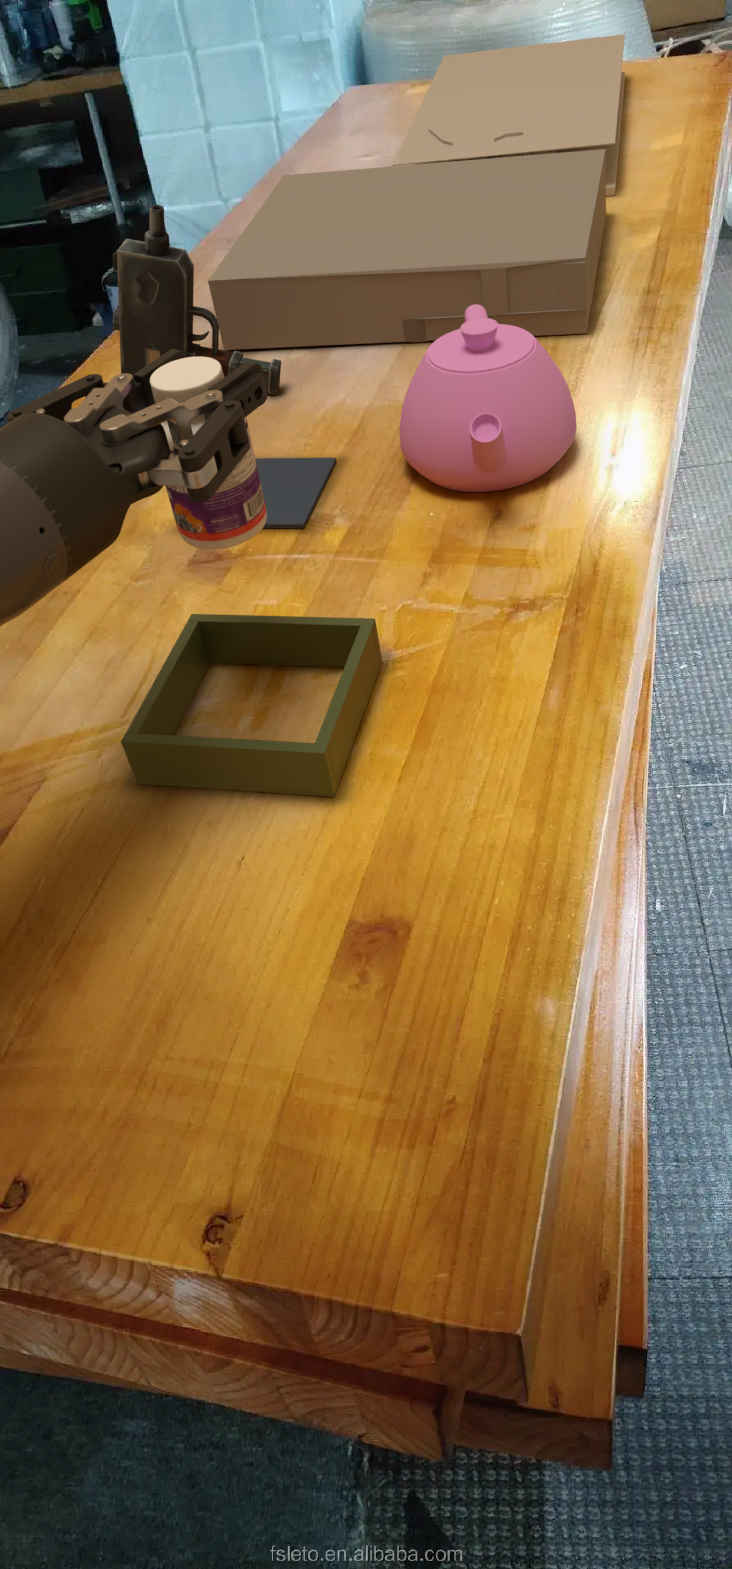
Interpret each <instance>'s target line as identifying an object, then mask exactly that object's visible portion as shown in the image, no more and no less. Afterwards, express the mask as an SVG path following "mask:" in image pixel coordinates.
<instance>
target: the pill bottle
mask: <svg viewBox="0 0 732 1569" xmlns="http://www.w3.org/2000/svg"><path fill="white" fill-rule="evenodd" d="M223 378H224V374H223V371H222V367H221V365H220V363H219V362H218V361H217V360H215V359H212V358H209V357H187V358H182V359H178V360H175V361H172V362H169V363H167V364H165V365H163V366H161V367H160V368H158V369H157V370H156V371H154V373H153V374H152V375H151V377H150V385H151V389H152V393H153V397H154V401H155V403H158V402H161V401H163V400H165V399H168V398H171V399H174V400H175V401H177V402H179V403H181V402H184V401H186V400H188V399H190V398H193V397H195V396H197V395H200V394H202V393H204V392H207V391H209V390H208V389H209V388H210V387H212V386H213V385H215V384H216V383H217V382H219V381H220V380H222V379H223ZM244 419H245V423H246V428H247V432H248V437H249V441H250V446H251V448H250V450H249V451H248V452H247V453H246V455H245V456H244V457H243V458H242V460H241V461H240V462H239V463H238V465H237V466H236V467H235V468H234V470H233V471H232V472H231V473H230V475H229V476H228V477H227V479H226V480H225V481H224V482H223V484H222V485H221V486H220V487H219V489H218V490H217V491H216V492H215V494H214V495H213V496H212V497H211V498H210V499H209V500H207V501H204V502H199V503H195V502H192V501H190V499H189V495H188V492H187V488H186V487H177V486H165V490H166V492H167V496H168V500H169V503H170V507H171V510H172V514H173V518H174V521H175V525H176V527H177V530H178V533H179V534H178V535H180V538H181V539H182V540H183V541H184V542H185V543H186V544H188V545H190V546H192V547H194V548H196V549H201V550H210V551H211V550H212V551H213V550H223V549H229V548H233V547H236V546H238V545H242V544H243V543H245V542H248V541H249V540H251V539H253V538H254V537H255V536H257V535H258V534H259V533H260V532H261V531H262V530H263V529H264V528H263V527H264V525H265V523H266V519H267V513H266V506H265V501H264V496H263V492H262V487H261V483H260V478H259V474H258V469H257V465H256V460H255V459H256V456H255V450H254V446H253V442H252V438H251V433H250V428H249V423H248V419H247V416H246V417H245V418H244ZM204 423H205V417H204V414H201V415H199V416H197V417H195V418H193V419H192V421H191V428H192V432H193V435H194V434H195V433H196V432H197V431H198V429H199V428H200V427H201V426H202V425H203V424H204ZM161 425H162V426H163V428H164V430H165V433H166V437H167V441H168V444H169V448H170V454H171V452H172V450H173V441H172V438H171V434H170V430H169V427H168V423H167V421H165V422H163V423H161Z"/></svg>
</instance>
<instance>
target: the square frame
mask: <svg viewBox="0 0 732 1569" xmlns="http://www.w3.org/2000/svg"><path fill="white" fill-rule="evenodd" d="M382 663H383V657H382V651H381V646H380V639H379V632H378V627H377V621H376V618H372V617H371V618H370V617H369V618H368V617H335V616H333V617H331V616H294V615H255V614H254V615H253V614H252V615H251V614H244V615H243V614H215V613H214V614H212V613H211V614H210V613H191V614H190V615H189V617H188V619H187V621H186V623H185V625H184V626H183V629H182V630H181V632H180V634H179V635H178V637H177V639H176V641H175V643H174V644H173V647H172V649H171V650H170V652H169V653H168V655H167V657H166V660H165V661H164V663H163V665H162V666H161V668H160V670H159V672H158V674H157V675H156V678H155V679H154V681H153V683H152V685H151V687H150V688H149V690H148V692H147V693H146V696H145V697H144V699H143V701H142V702H141V705H140V706H139V708H138V709H137V712H136V713H135V715H134V717H133V718H132V721H131V722H130V724H129V726H128V728H127V730H126V732H125V733H124V735H123V737H122V739H121V740H120V743H121V746H122V748H123V751H124V753H125V756H126V759H127V761H128V764H129V766H130V769H131V772H132V775H133V777H134V780H135V782H136V784H137V785H149V786H150V785H151V786H164V787H178V788H179V787H180V788H193V789H194V788H195V789H207V790H208V789H209V790H210V789H211V790H225V791H239V792H241V791H242V792H253V793H270V794H283V795H284V794H285V795H298V796H299V795H301V796H314V797H329V798H334V797H336V794H337V791H338V788H339V785H340V782H341V779H342V777H343V774H344V771H345V769H346V765H347V763H348V760H349V758H350V754H351V751H352V748H353V746H354V743H355V740H356V738H357V734H358V732H359V729H360V726H361V723H362V721H363V717H364V715H365V712H366V710H367V707H368V703H369V701H370V697H371V695H372V692H373V689H374V687H375V684H376V681H377V678H378V675H379V672H380V669H381V667H382ZM211 664H230V665H231V664H232V665H233V664H234V665H261V666H262V665H263V666H288V667H290V666H291V667H315V668H341V669H342V668H343V670H342V671H341V672H342V673H341V675H340V676H339V677H340V678H339V680H338V683H337V685H336V688H335V691H334V693H333V695H332V697H331V700H330V703H329V706H328V708H327V711H326V713H325V716H324V719H323V722H322V724H321V726H320V729H319V731H318V734H317V737H316V740H315V742H303V741H302V742H301V741H286V740H285V741H284V740H266V739H247V738H246V739H245V738H226V737H209V736H192V735H191V736H190V735H175V733H176V732H177V729H178V727H179V726H180V723H181V721H182V719H183V718H184V716H185V714H186V712H187V710H188V708H189V706H190V704H191V702H192V700H193V698H194V696H195V694H196V692H197V689H198V688H199V686H200V685H201V683H202V680H203V678H204V676H205V675H206V672H207V671H208V668H209V667H210V665H211Z"/></svg>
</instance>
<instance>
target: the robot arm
mask: <svg viewBox="0 0 732 1569" xmlns="http://www.w3.org/2000/svg"><path fill="white" fill-rule="evenodd" d="M182 358H187V355H186V353H185V352H184V351H181V350H175V349H171V350H169V351H168V352H166V353H165V354H163V355H162V356H160V357H159V358H157V359H156V360H154V361H153V362H151V363H150V364H148V365H147V366H145V367H144V368H142V369H141V370H139V371H138V372H136V373H135V374H133V375H131V374H128V373H125V374H121V373H119V374H117V375H114V376H113V377H112V378H111V379H110V380H109V381H108V382H104V380H103V377H102V375H101V374H98V373H91V374H87V375H84V376H83V377H81V378H79V379H76V380H74V381H72V382H70V383H68V384H66V385H64V386H62V387H59V388H57V389H55V390H53V391H51V392H48V393H47V394H45V395H43V396H40V397H39V398H37V399H34V400H32V401H29V402H28V403H26V404H23V405H22V406H19V407H17V408H15V409H13V410H11V411H9V412H8V413H7V414H6V415H5V417H6V420H7V422H8V423H6V424H5V425H3V426H1V427H0V627H2V626H4V625H5V624H7V623H9V622H11V621H13V620H15V619H16V618H18V617H19V616H21V615H23V613H25V612H27V611H28V610H29V609H31V608H32V607H33V606H34V605H36V604H37V603H38V602H40V601H41V600H42V599H43V598H45V597H46V596H47V595H48V594H50V593H51V592H52V591H54V590H55V589H57V588H58V587H59V586H60V585H62V584H63V583H64V582H65V581H67V580H68V579H69V578H70V577H73V575H74V574H76V573H77V572H78V571H80V570H81V569H83V568H85V566H86V565H87V564H89V563H90V562H91V561H93V560H94V559H95V558H97V557H98V556H99V555H100V554H102V553H103V552H104V551H105V550H107V549H108V548H109V547H111V546H112V545H113V544H114V543H115V542H116V540H117V539H119V537H120V534H121V531H122V529H123V526H124V521H125V519H126V517H127V513H128V511H129V509H130V507H131V505H133V504H135V503H137V502H139V501H142V500H144V499H146V498H149V497H152V496H153V495H156V494H157V493H159V492H160V491H161V490H162V489H163V488H164V487H166V486H177V487H186V488H187V492H188V495H189V499H190V501H192V502H195V503H199V502H204V501H207V500H209V499H210V498H211V497H212V496H213V495H214V494H215V492H216V491H217V490H218V489H219V487H220V486H221V485H222V484H223V482H224V481H225V480H226V479H227V477H228V476H229V475H230V473H231V472H232V471H233V470H234V468H235V467H236V466H237V465H238V463H239V462H240V461H241V460H242V458H243V457H244V456H245V455H246V453H247V452H248V451H249V450H250V448H251V446H250V441H249V437H248V432H247V428H246V423H245V419H244V418H245V417H246V418H247V417H248V416H249V415H251V414H252V413H253V412H254V411H256V410H257V409H258V408H259V407H261V406H263V405H264V404H265V403H266V401H267V400H268V395H267V394H268V391H266V386H265V381H264V376H263V371H262V367H261V366H260V364H257V363H251V362H246V363H244V364H243V365H241V366H240V367H238V368H237V369H236V370H234V371H233V372H231V373H230V374H229V375H227V376H226V377H224V378H223V379H222V380H220V381H219V382H217V383H216V384H215V385H213V386H212V387H210V388H209V389H208V390H209V391H207V392H204V393H202V394H200V395H197V396H195V397H193V398H190V399H188V400H186V401H184V402H181V403H179V402H177V401H175V400H174V399H171V398H168V399H165V400H163V401H161V402H158V403H155V401H154V397H153V393H152V389H151V385H150V377H151V375H152V374H153V373H154V371H156V370H157V369H158V368H160V367H161V366H163V365H165V364H167V363H169V362H172V361H175V360H178V359H182ZM82 398H84V399H83V401H82V402H81V403H80V404H79V405H78V406H77V407H73V404H74V402H76V401H78V400H80V399H82ZM72 407H73V408H72ZM201 414H204V417H205V423H204V424H203V425H202V426H201V427H200V428H199V429H198V431H197V432H196V433H195V434H194V435H193V432H192V428H191V421H192V419H193V418H195V417H197V416H199V415H201ZM165 421H167V423H168V427H169V430H170V434H171V438H172V441H173V450H172V452H171V454H170V448H169V444H168V441H167V437H166V433H165V430H164V428H163V426H162V425H161V423H163V422H165Z"/></svg>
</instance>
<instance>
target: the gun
mask: <svg viewBox="0 0 732 1569" xmlns="http://www.w3.org/2000/svg"><path fill="white" fill-rule="evenodd" d="M148 210H149V211H148V212H149V213H148V214H149V217H148V218H149V219H148V220H149V221H148V222H149V224H148V226H149V230H147V231H145V233H144V241H142V240H137V239H136V240H135V239H130V238H125V240H124V241H123V242H122V244H121V245H120V246H119V247H118V249H117V250H116V251H115V252H114V253H113V254H112V271H113V272H114V273H117V292H118V293H117V294H118V305H116V308H114V310H113V312H112V328H113V330H114V331H119V358H120V374H125V373H128V374H131V375H133V374H135V373H136V372H138V371H139V370H141V369H142V368H144V367H145V366H147V365H148V364H150V363H151V362H153V361H154V360H156V359H157V358H159V357H160V356H162V355H163V354H165V353H166V352H168V351H169V350H171V349H175V350H181V351H184V352H185V353H186V355H187V357H209V358H212V359H215V360H217V361H218V362H219V363H220V365H221V367H222V371H223V374H224V377H226V376H227V375H229V374H230V373H231V372H233V371H234V370H236V369H237V368H238V367H240V366H241V365H243V364H244V363H246V362H251V363H257V364H260V366H261V367H262V371H263V376H264V381H265V386H266V391H267V394H268V395H274V396H277V394H278V392H279V390H280V384H281V373H282V372H281V371H282V360H281V359H276V358H272V360H271V362H270V361H265V360H259V359H254V358H249V357H244V354H243V353H242V352H241V351H238V350H233V351H231V350H224V349H219V346H220V344H219V342H220V341H219V340H220V331H219V324H218V321H217V318H216V314H214V313H213V311H211V310H209V309H208V308H205V307H200V306H195V305H194V292H195V291H194V289H195V288H194V287H195V286H194V285H195V284H194V283H195V282H194V281H195V280H194V279H195V278H194V277H195V264H194V263H193V261H192V259H191V257H190V255H189V253H188V251H187V250H186V249H185V248H179V247H173V246H170V235H169V233H168V232H166V231H165V208H164V207H163V205H161V204H160V205H159V204H151V205H150V206H149V209H148ZM194 316H195V317H199V318H200V317H201V318H203V319H205V320H206V322H208V323H209V325H210V327H211V347H207V346H202V345H201V344H199V343H195V342H200V341H203V340H205V339H206V338H207V337H208V336H209V334H210V330H208V331H206V332H205V333H202V334H195V333H194Z"/></svg>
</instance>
